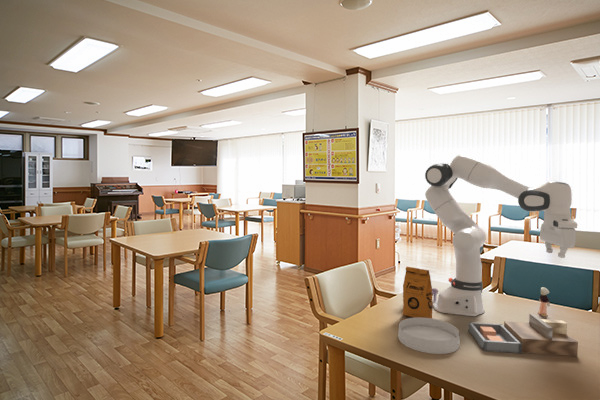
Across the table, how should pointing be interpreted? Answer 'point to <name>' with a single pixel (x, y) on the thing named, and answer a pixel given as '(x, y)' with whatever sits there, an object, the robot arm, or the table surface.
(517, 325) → the walnut board
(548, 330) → the scraper
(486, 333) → the terracotta tile
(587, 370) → the table surface
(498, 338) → the terracotta tile
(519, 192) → the robot arm
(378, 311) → the table surface
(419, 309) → the coffee package
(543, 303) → the grandmother figurine
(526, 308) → the table surface
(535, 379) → the table surface
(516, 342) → the box
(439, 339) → the dish
